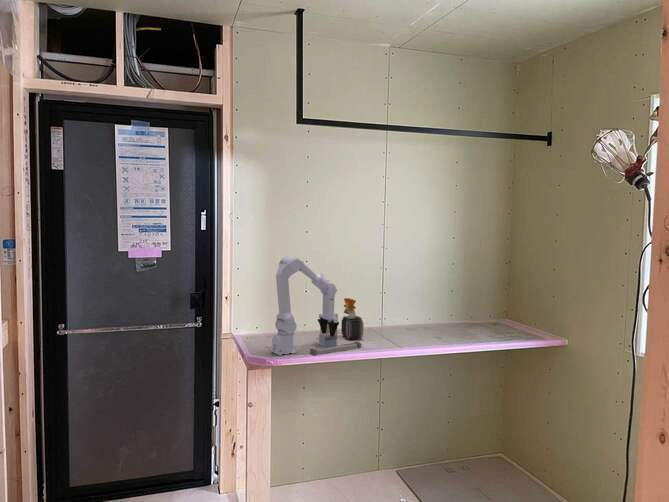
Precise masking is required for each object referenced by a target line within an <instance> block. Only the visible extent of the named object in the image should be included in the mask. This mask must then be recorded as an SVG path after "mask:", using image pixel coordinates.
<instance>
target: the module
mask: <svg viewBox="0 0 669 502" xmlns="http://www.w3.org/2000/svg"><path fill="white" fill-rule="evenodd" d="M337 339H338V334H337V335H336V334H335V336H332V337H331V336H330V333H327V334H320V333H319V334H318V345H319V346H320V347H321V348H323V347H330V346H337V345H338V344H337Z"/></svg>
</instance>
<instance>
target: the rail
mask: <svg viewBox="0 0 669 502" xmlns="http://www.w3.org/2000/svg"><path fill="white" fill-rule="evenodd" d="M355 349H362V343H361V342H357V341H354V342H351V343H345V344H337V346H330V347H319V348H318V347H317V348H309V353H311V354H310V355H312V354H313V355H312V356H317V355H324V354H331V353H336V352H343V351H349V350H355Z"/></svg>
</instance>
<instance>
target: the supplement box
mask: <svg viewBox="0 0 669 502" xmlns="http://www.w3.org/2000/svg"><path fill="white" fill-rule="evenodd" d="M338 314H339V313H337V312H334V315H335V316H336V318H338V319H339V316H338ZM328 322H331V321H329V320H328ZM319 332H320V333H319V334H327V333H330V330H329V325H328V323H327V331H326V333H322V332H321V327H320V326H319ZM335 334H336V335H337V336H338V328H337V329H336V332H335Z"/></svg>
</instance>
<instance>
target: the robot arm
mask: <svg viewBox="0 0 669 502" xmlns="http://www.w3.org/2000/svg"><path fill="white" fill-rule="evenodd" d="M276 271H277V272H276V274H275V280H276V291H277V303H278V304H277V305H278V314H277V315H276V316H275V317H276V320H275V323H274V325H275V328H276V330H277V333H276V334H273V335H272V338H271V352H272V353H273V354H276V355H277V354H278V355H277V356H283V355H282V354H285V355H290V354H289V353H292V354H296V353H297V354H298V351H296V350H294V334H295V332H296V330H297V326H298V325H297V323H296V321H295V317H294V315H293V314H292V311H291V309H292V308H291V298H290V297H291V294H290V285H289V284H290V283H289V279H290V278H291V277H292V275H294V274H296V273H298V272H301V273H303V274H304V275H305V276H306V277H307V278H309V279H310V280H311V284H312V285H313V286H315V287H316V288H318V290H320V293H321V294H322V313H318V318H317V322H318V324H319V328H320V327H321V332H322V333H326V331H327V323H328V325H329V330H330V336H331V337H332V336H335V332H336V329H337V330H338V326H339V325H340V322H339V317H338V318H336V316H335V315H334V313H335V298H336V294H337V292H338V291H337V290H338V289H337V287H336V285H335V284H334V283H331V282H330V280H329V279H327V278H325V277H324V274H322V273H315V272H314V271H313V270H312V269H311V268H310V267H309V265H307V264H306V263H304V261H302V260H301V259H300V258H298V257H291V256H284V257H282V258H281V259H280V260H279V262H278V268H277V270H276ZM303 274H302V275H303ZM328 320H329V321H331V322H328Z"/></svg>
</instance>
